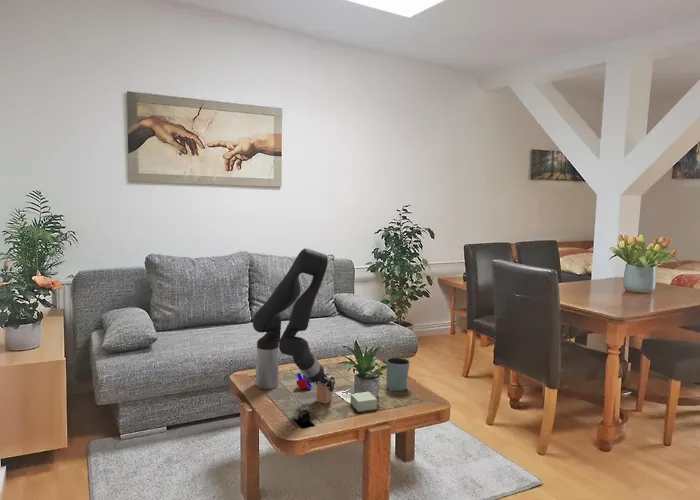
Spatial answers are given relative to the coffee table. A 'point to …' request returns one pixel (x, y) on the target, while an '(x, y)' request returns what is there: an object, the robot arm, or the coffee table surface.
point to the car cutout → (326, 371)
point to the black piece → (303, 419)
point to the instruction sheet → (344, 395)
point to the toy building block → (303, 382)
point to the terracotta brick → (323, 393)
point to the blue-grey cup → (397, 373)
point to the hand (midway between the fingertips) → (327, 388)
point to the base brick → (363, 401)
